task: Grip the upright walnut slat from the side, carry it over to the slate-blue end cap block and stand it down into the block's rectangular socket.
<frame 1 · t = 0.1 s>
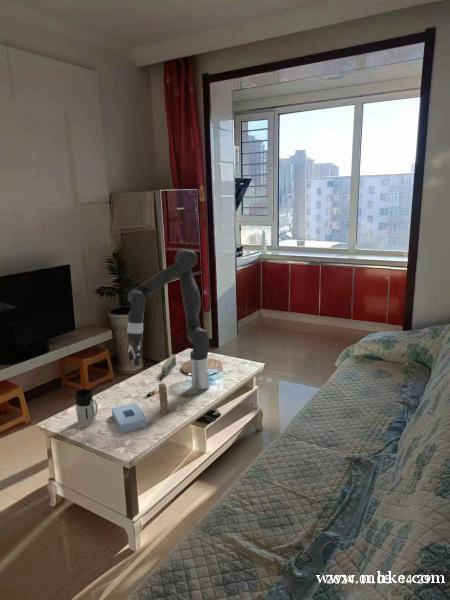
hand: (133, 362, 213), 22 cm above the table, tool pointing down, fingers open, 8 cm apart
slat: (164, 412, 209), on the table
end cap: (129, 421, 202), on the table
trivet: (202, 368, 261), on the table
white travel mug: (90, 424, 201), on the table
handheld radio: (168, 372, 257), on the table
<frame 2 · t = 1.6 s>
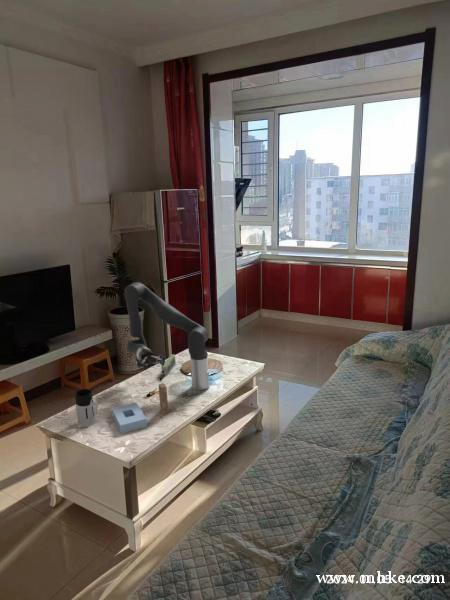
hand: (154, 365, 214), 20 cm above the table, tool horizontal, fingers open, 8 cm apart
nothing on the table moved.
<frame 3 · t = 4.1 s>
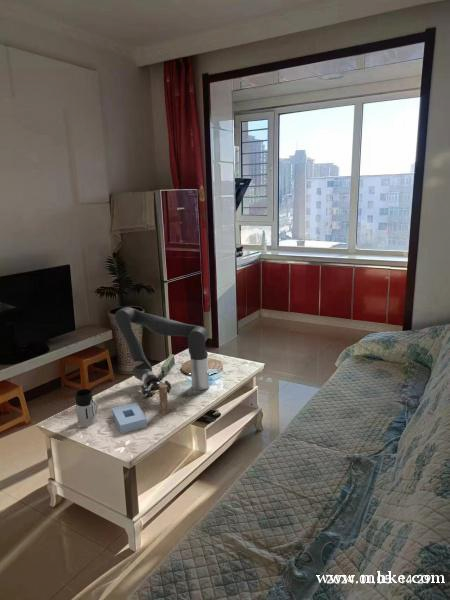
hand: (160, 393, 211), 8 cm above the table, tool horizontal, fingers open, 8 cm apart
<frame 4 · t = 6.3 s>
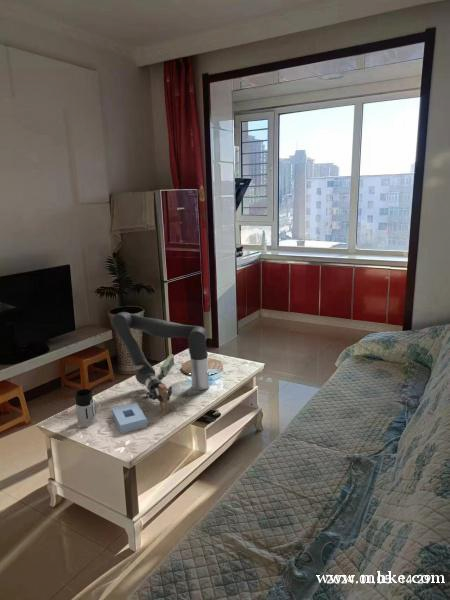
hand: (165, 399, 205), 8 cm above the table, tool horizontal, fingers closed on slat, 2 cm apart
slat: (164, 412, 209), on the table, touching gripper
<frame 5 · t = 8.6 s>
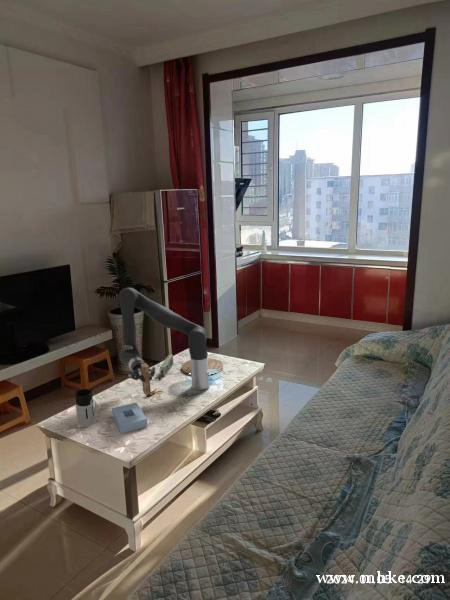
hand: (147, 379, 199), 20 cm above the table, tool horizontal, fingers closed on slat, 2 cm apart
slat: (146, 393, 203), point 12 cm above the table, touching gripper
when the fingers open (10 cm above the table, at t = 11.4 s): slat drops 1 cm, resting on end cap.
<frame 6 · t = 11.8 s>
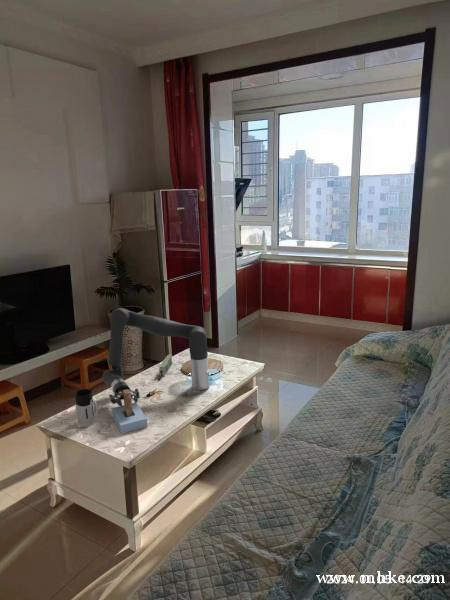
hand: (128, 402, 197), 10 cm above the table, tool horizontal, fingers open, 6 cm apart
slat: (129, 419, 202), point 1 cm above the table, touching end cap
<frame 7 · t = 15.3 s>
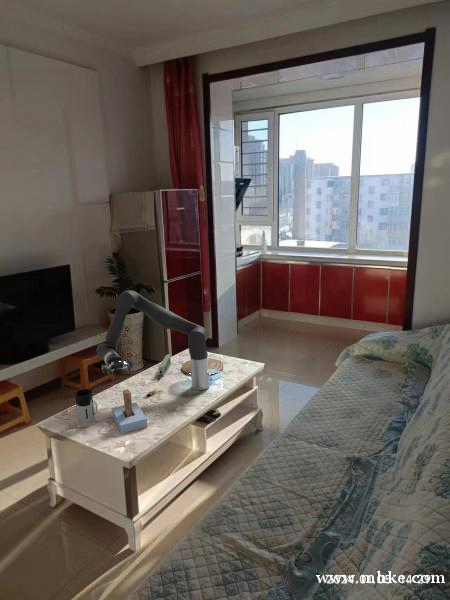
hand: (120, 371, 207), 21 cm above the table, tool horizontal, fingers open, 8 cm apart
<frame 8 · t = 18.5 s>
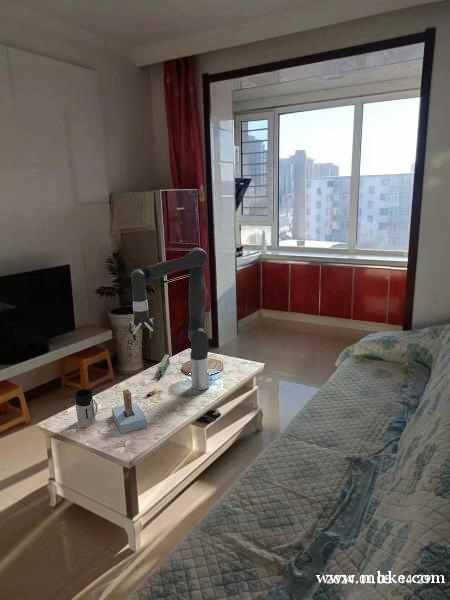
hand: (143, 339, 223), 30 cm above the table, tool pointing down, fingers open, 8 cm apart
at the end: slat 0.0 cm off-centre on the end cap, point 1.0 cm above the end cap's base; slat tilted 0°; the gripper is holding nothing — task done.
